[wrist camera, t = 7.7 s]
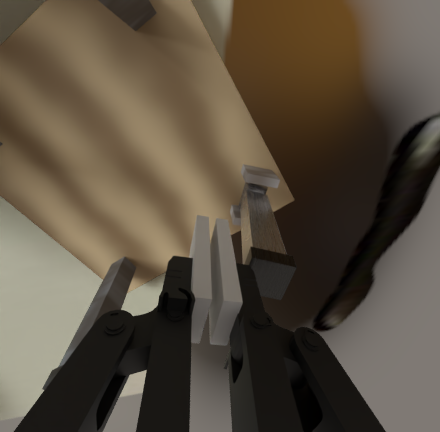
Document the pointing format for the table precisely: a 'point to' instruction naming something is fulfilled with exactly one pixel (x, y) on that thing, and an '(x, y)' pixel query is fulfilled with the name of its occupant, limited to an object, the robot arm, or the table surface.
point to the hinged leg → (264, 243)
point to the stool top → (124, 137)
